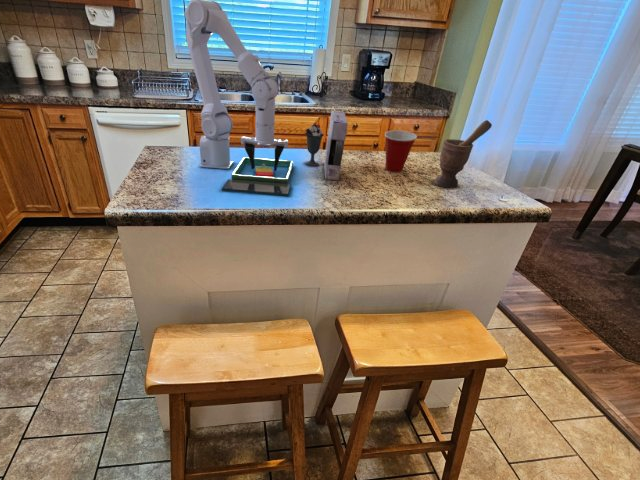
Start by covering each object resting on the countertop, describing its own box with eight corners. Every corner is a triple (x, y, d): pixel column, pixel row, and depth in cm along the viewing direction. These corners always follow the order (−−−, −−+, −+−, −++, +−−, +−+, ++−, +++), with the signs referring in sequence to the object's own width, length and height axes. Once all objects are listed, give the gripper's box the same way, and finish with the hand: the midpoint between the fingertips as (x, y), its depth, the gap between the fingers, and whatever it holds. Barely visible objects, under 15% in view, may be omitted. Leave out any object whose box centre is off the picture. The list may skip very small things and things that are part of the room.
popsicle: (255, 180, 118) (255, 174, 117) (255, 166, 130) (255, 160, 129) (273, 181, 118) (273, 175, 117) (271, 167, 131) (272, 161, 129)
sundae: (321, 162, 138) (325, 117, 130) (320, 167, 133) (325, 121, 124) (303, 160, 139) (306, 115, 130) (302, 166, 133) (305, 119, 125)
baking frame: (231, 181, 117) (231, 174, 115) (243, 163, 133) (243, 157, 132) (287, 185, 116) (287, 179, 115) (292, 166, 132) (293, 161, 131)
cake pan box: (340, 182, 121) (348, 121, 111) (324, 181, 121) (331, 120, 111) (337, 164, 137) (344, 110, 126) (323, 163, 137) (329, 109, 127)
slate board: (221, 191, 109) (221, 188, 109) (228, 182, 116) (227, 179, 115) (287, 196, 108) (287, 193, 108) (290, 187, 115) (290, 184, 114)
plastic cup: (375, 171, 133) (382, 134, 126) (381, 163, 141) (387, 128, 134) (406, 176, 130) (415, 139, 123) (411, 168, 138) (419, 132, 131)
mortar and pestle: (461, 180, 129) (481, 116, 117) (473, 189, 122) (496, 121, 110) (428, 180, 128) (446, 114, 116) (439, 188, 121) (459, 120, 109)
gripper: (238, 124, 113) (239, 171, 120) (287, 128, 112) (285, 174, 120) (243, 120, 118) (243, 164, 126) (289, 123, 118) (287, 168, 126)
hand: (264, 169), depth 123 cm, fingers open, 7 cm apart
